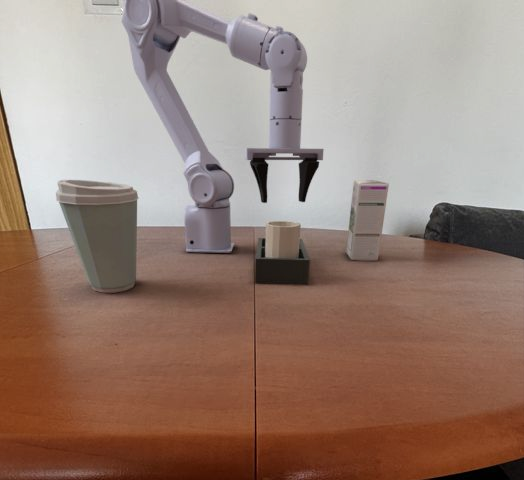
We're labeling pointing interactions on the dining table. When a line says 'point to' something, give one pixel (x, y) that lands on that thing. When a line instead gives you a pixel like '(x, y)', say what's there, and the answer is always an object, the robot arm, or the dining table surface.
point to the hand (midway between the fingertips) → (283, 202)
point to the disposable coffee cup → (102, 230)
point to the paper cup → (282, 239)
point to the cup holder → (281, 267)
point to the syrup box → (366, 219)
